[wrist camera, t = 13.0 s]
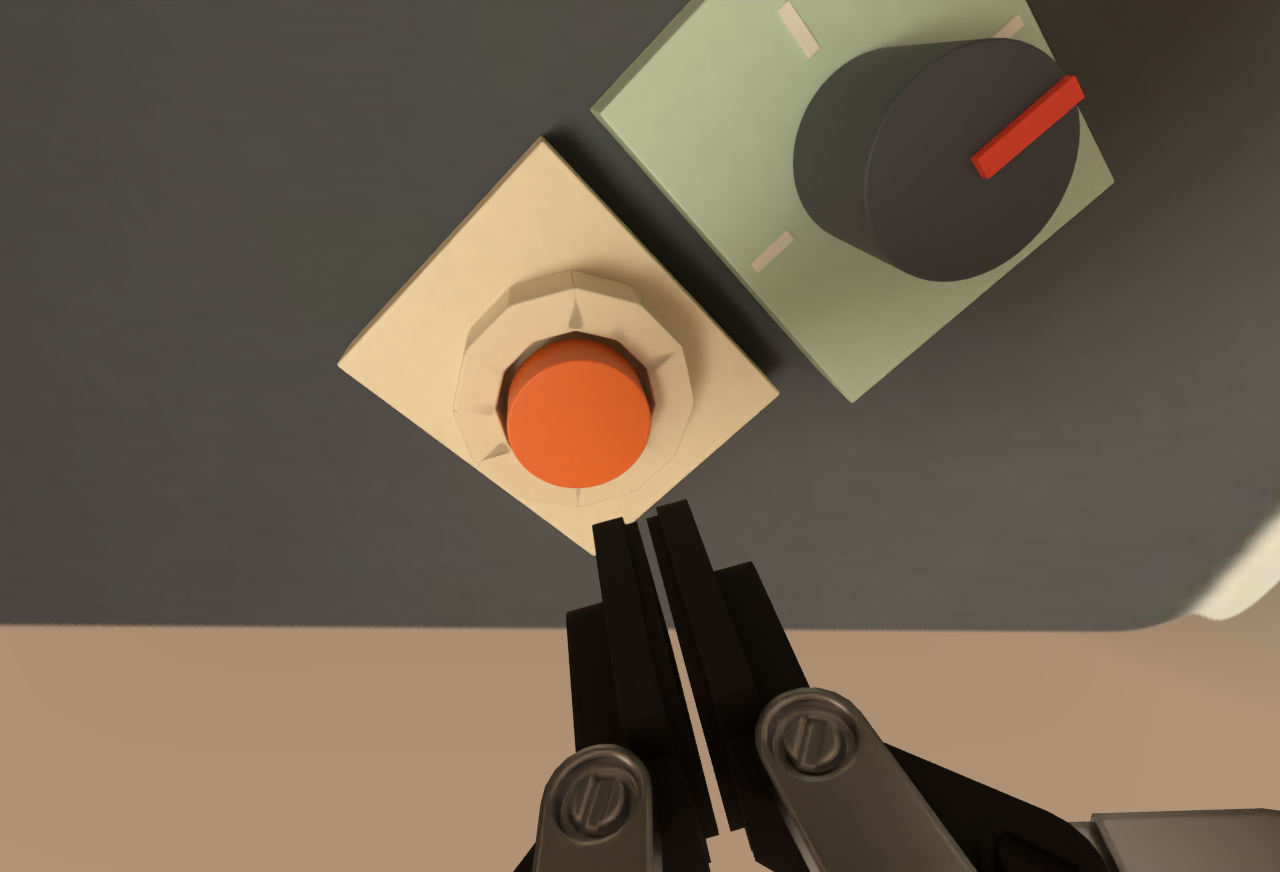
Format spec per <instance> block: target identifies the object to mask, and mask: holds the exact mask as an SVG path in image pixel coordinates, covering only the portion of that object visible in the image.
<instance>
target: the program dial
mask: <svg viewBox="0 0 1280 872" xmlns="http://www.w3.org/2000/svg"><path fill="white" fill-rule="evenodd" d="M1083 98H1084V94H1083V92H1082V90H1081V87H1080V85H1079V83H1078V81H1077V79H1076V76H1066V75H1065V73H1064V72H1063V70H1062V69H1061V68H1060V67H1059V65H1058V64H1057V63H1056V62H1055V61H1054V60H1053V59H1052V58H1051V57H1050V56H1049V55H1047V54H1046V53H1045V52H1044V51H1042V50H1040V49H1038V48H1037V47H1035V46H1033V45H1031V44H1028V43H1026V42H1023V41H1020V40H1014V39H1009V38H986V39H974V40H963V41H952V42H941V43H929V44H918V45H907V46H895V47H886V48H880V49H876V50H872V51H869V52H866V53H864V54H862V55H859V56H857V57H855V58H853V59H852V60H850V61H849V62H847V63H846V64H844V65H842V66H841V67H840V68H839V69H838V70H836V71H835V72H834V73H833V74H832V75H831V76H830V77H829V78H828V79H827V80H826V81H825V82H824V83H823V84H822V86H821V87H820V88H819V90H818V91H817V92H816V94H815V95H814V96H813V98H812V100H811V101H810V103H809V105H808V107H807V108H806V111H805V113H804V115H803V117H802V119H801V122H800V125H799V128H798V131H797V135H796V140H795V145H794V153H793V174H794V180H795V186H796V189H797V193H798V196H799V198H800V201H801V203H802V205H803V207H804V209H805V210H806V212H807V213H808V215H809V216H810V217H811V219H812V220H813V221H814V222H815V223H816V224H817V225H818V226H819V227H820V228H821V229H823V230H824V231H825V232H827V233H829V234H830V235H832V236H834V237H836V238H838V239H840V240H842V241H844V242H846V243H848V244H850V245H852V246H854V247H856V248H857V249H859V250H861V251H863V252H865V253H867V254H869V255H871V256H873V257H875V258H877V259H879V260H881V261H883V262H885V263H887V264H889V265H891V266H893V267H895V268H897V269H899V270H901V271H903V272H905V273H907V274H909V275H912V276H914V277H917V278H920V279H924V280H928V281H936V282H952V281H959V280H965V279H969V278H972V277H976V276H979V275H982V274H984V273H986V272H989V271H991V270H993V269H995V268H997V267H999V266H1000V265H1002V264H1004V263H1005V262H1007V261H1008V260H1010V259H1011V258H1013V257H1014V256H1015V255H1017V254H1018V253H1019V252H1020V251H1022V250H1023V249H1024V248H1025V247H1026V246H1027V245H1028V244H1029V243H1030V242H1031V241H1032V240H1033V239H1034V238H1035V237H1036V236H1037V235H1038V234H1039V233H1040V232H1041V231H1042V229H1043V228H1044V227H1045V225H1046V224H1047V223H1048V221H1049V220H1050V219H1051V217H1052V216H1053V214H1054V212H1055V211H1056V209H1057V208H1058V206H1059V204H1060V202H1061V200H1062V198H1063V196H1064V194H1065V192H1066V190H1067V188H1068V185H1069V183H1070V180H1071V178H1072V175H1073V172H1074V168H1075V164H1076V160H1077V155H1078V149H1079V142H1080V119H1079V110H1078V105H1077V103H1079V102H1080V101H1081V100H1082V99H1083Z"/></svg>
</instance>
